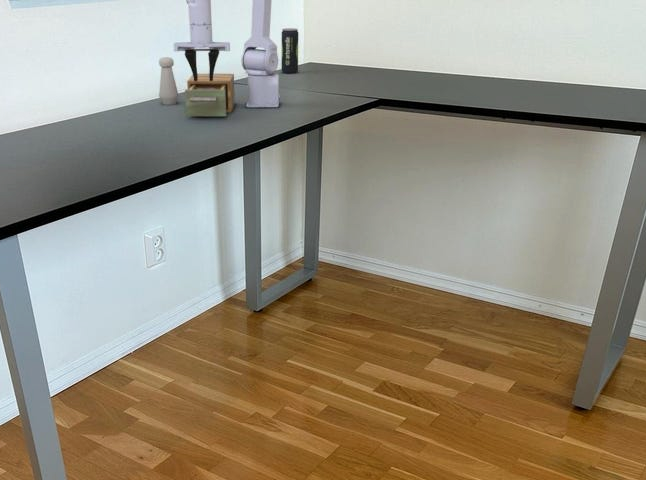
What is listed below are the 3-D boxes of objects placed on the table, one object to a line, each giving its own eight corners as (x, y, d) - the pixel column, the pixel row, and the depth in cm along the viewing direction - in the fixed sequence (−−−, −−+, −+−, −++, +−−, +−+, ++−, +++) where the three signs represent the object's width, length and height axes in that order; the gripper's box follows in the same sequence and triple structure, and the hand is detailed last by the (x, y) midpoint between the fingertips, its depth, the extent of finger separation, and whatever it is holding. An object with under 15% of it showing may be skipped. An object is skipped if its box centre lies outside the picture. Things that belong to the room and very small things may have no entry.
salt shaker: (175, 105, 211) (171, 59, 205) (157, 105, 212) (153, 58, 206) (181, 102, 216) (178, 56, 210) (163, 101, 217) (160, 56, 211)
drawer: (224, 120, 189) (223, 93, 186) (184, 120, 189) (182, 93, 186) (229, 107, 204) (228, 82, 201) (192, 107, 204) (191, 82, 201)
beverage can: (280, 73, 264) (280, 29, 256) (282, 71, 269) (282, 28, 261) (296, 74, 263) (297, 30, 255) (299, 71, 268) (299, 28, 260)
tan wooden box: (231, 112, 202) (229, 81, 198) (189, 112, 202) (187, 81, 198) (234, 103, 214) (233, 73, 209) (195, 103, 214) (193, 73, 210)
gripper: (170, 25, 177) (174, 83, 184) (227, 25, 177) (229, 82, 184) (174, 23, 183) (178, 78, 190) (229, 23, 183) (231, 78, 190)
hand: (203, 80), depth 187 cm, fingers open, 3 cm apart
